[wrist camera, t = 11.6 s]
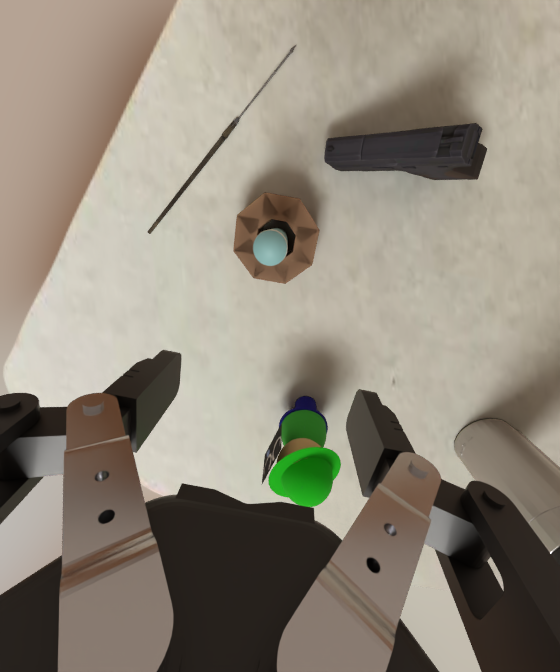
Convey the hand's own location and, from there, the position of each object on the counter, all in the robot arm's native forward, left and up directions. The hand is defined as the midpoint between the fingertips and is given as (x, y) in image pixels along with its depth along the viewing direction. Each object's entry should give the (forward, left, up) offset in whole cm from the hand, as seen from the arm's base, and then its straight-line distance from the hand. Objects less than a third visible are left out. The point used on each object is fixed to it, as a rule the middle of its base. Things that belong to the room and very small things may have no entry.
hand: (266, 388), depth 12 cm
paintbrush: (+10, -13, -26) cm, 31 cm away
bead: (+1, -5, -26) cm, 26 cm away
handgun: (-10, -15, -26) cm, 32 cm away
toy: (-7, +20, -26) cm, 33 cm away
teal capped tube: (+1, -5, -26) cm, 26 cm away
